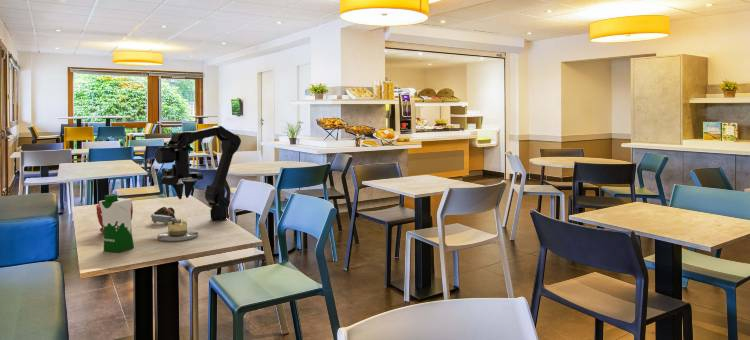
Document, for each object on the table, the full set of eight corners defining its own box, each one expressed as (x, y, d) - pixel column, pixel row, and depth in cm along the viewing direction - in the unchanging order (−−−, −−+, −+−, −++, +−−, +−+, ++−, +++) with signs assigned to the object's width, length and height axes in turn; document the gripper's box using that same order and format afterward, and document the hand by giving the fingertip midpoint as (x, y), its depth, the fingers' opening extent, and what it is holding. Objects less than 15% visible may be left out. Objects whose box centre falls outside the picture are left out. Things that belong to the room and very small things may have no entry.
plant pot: (90, 234, 212) (88, 205, 211) (118, 227, 224) (116, 199, 223) (114, 237, 207) (112, 207, 205) (141, 230, 219) (139, 201, 217)
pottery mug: (173, 226, 228) (162, 211, 225) (156, 235, 230) (144, 220, 227) (184, 214, 239) (173, 199, 236) (167, 222, 241) (157, 207, 238)
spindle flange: (206, 234, 211) (205, 217, 211) (178, 243, 198) (177, 225, 197) (177, 231, 218) (177, 214, 217) (148, 239, 204) (147, 222, 203)
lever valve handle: (191, 232, 209) (190, 216, 208) (177, 236, 203) (177, 220, 202) (161, 228, 216) (160, 213, 215) (147, 232, 210) (146, 216, 209)
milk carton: (99, 251, 188) (95, 195, 185) (119, 245, 196) (116, 191, 194) (119, 253, 185) (115, 197, 182) (138, 247, 193) (135, 192, 191)
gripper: (183, 158, 235) (185, 193, 237) (150, 163, 218) (152, 200, 220) (203, 159, 230) (204, 195, 232) (170, 164, 213) (172, 202, 215)
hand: (183, 198), depth 225 cm, fingers open, 4 cm apart
